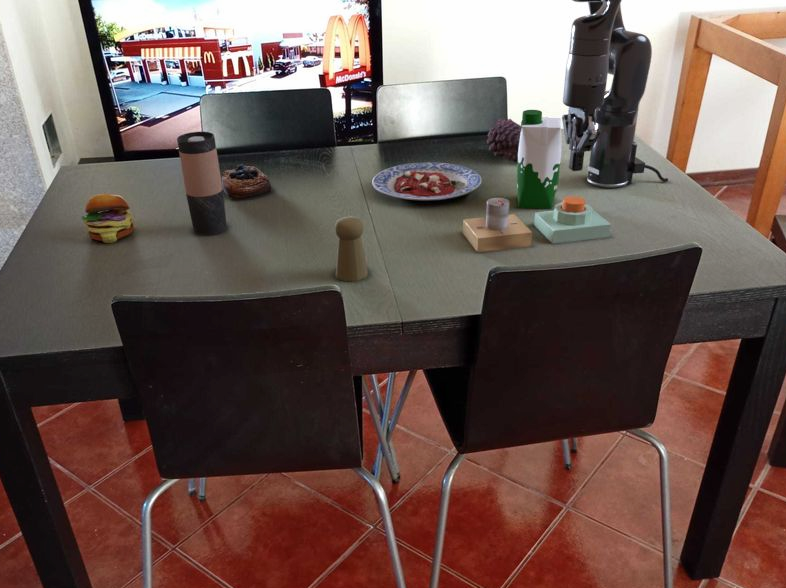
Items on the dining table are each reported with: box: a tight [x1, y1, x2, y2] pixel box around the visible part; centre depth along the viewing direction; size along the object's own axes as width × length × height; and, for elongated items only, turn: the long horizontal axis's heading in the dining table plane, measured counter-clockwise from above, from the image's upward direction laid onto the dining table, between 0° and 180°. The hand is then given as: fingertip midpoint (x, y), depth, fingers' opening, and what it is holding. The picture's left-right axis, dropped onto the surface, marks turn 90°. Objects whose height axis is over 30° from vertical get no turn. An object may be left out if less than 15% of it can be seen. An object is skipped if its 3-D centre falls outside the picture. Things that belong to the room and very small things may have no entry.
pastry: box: [221, 163, 272, 201], centre depth 182 cm, size 11×12×6 cm
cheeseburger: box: [81, 193, 135, 244], centre depth 162 cm, size 10×11×10 cm
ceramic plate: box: [371, 161, 483, 202], centre depth 180 cm, size 26×26×3 cm
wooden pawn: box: [334, 215, 369, 282], centre depth 140 cm, size 6×6×11 cm
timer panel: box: [462, 213, 533, 253], centre depth 153 cm, size 11×10×3 cm
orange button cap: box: [562, 195, 586, 213], centre depth 153 cm, size 4×4×2 cm
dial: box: [485, 197, 510, 230], centre depth 150 cm, size 4×4×5 cm
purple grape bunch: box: [486, 117, 521, 162], centre depth 196 cm, size 18×10×10 cm
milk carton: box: [516, 109, 563, 210], centre depth 165 cm, size 9×9×20 cm
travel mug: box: [176, 131, 227, 236], centre depth 159 cm, size 8×8×20 cm
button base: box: [533, 201, 612, 245], centre depth 154 cm, size 12×10×5 cm
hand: (575, 169), depth 149 cm, fingers closed
